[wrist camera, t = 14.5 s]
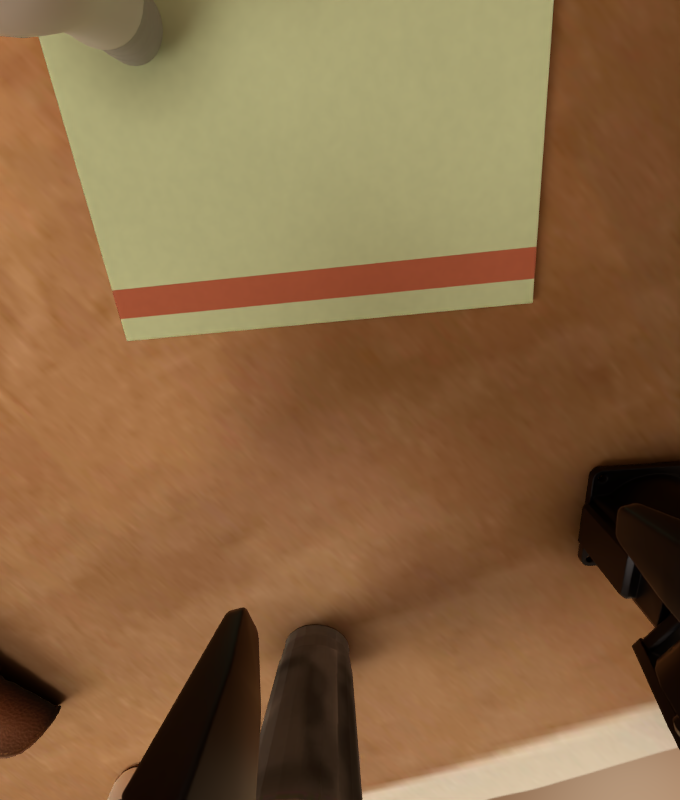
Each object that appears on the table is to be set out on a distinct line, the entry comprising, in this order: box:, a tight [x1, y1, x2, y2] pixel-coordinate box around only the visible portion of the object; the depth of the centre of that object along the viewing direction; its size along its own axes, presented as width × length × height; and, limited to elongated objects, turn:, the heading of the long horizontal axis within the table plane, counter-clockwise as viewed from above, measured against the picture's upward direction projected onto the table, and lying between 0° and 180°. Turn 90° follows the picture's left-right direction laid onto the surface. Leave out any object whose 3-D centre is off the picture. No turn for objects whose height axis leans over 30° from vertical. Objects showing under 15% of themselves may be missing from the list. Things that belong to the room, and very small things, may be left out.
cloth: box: [39, 0, 554, 341], centre depth 17 cm, size 20×16×1 cm
